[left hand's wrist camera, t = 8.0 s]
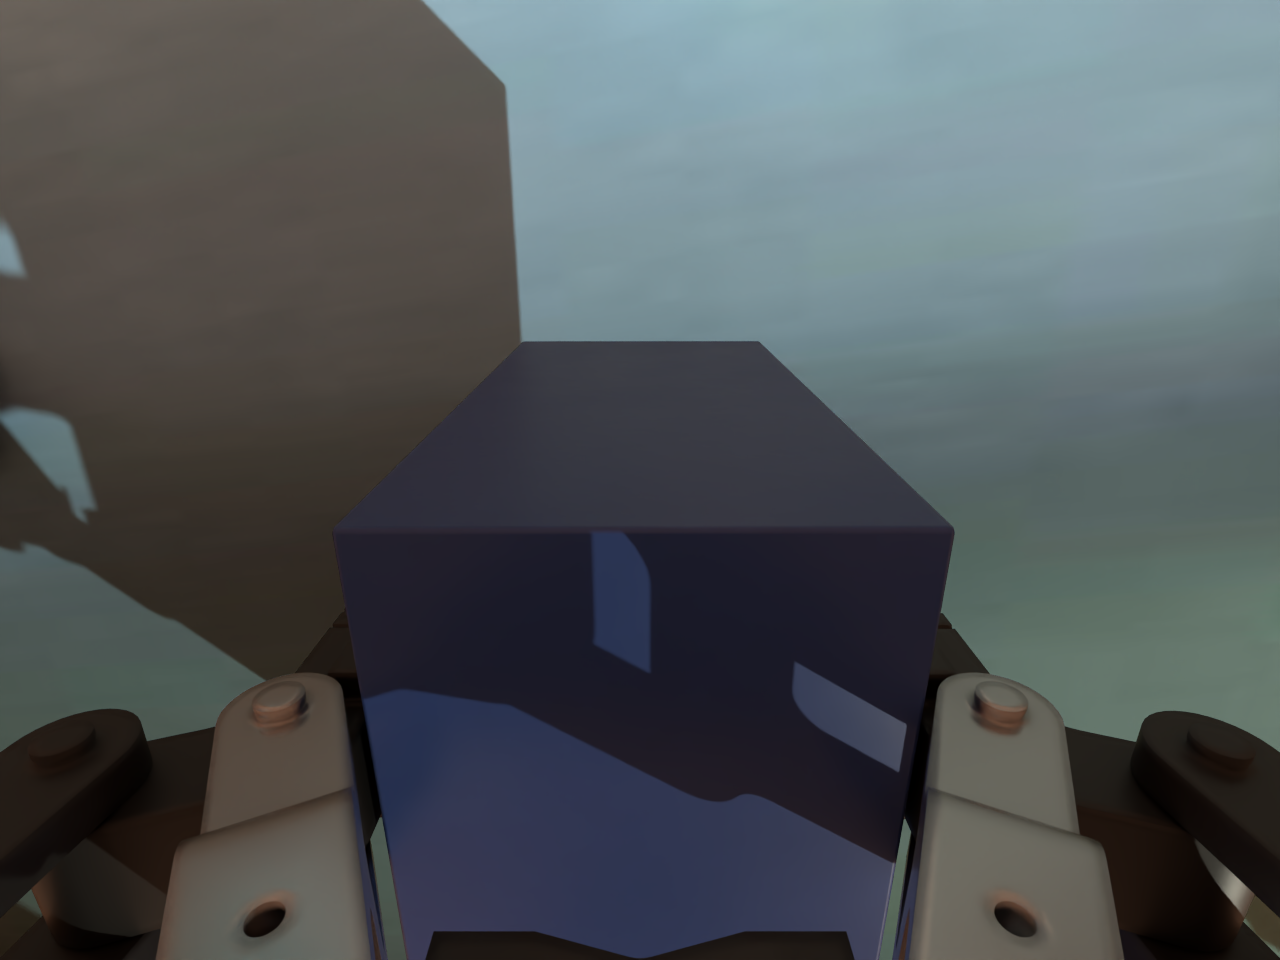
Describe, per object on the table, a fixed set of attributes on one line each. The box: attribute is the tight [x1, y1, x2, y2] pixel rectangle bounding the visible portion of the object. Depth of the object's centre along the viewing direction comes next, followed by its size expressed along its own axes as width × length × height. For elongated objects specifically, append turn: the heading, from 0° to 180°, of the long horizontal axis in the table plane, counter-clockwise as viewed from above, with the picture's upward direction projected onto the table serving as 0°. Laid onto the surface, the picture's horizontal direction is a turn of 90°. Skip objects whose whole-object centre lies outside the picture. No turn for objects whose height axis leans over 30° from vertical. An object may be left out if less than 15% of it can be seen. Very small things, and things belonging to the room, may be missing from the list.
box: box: [333, 341, 954, 960], centre depth 17 cm, size 28×6×11 cm, turn 0°
